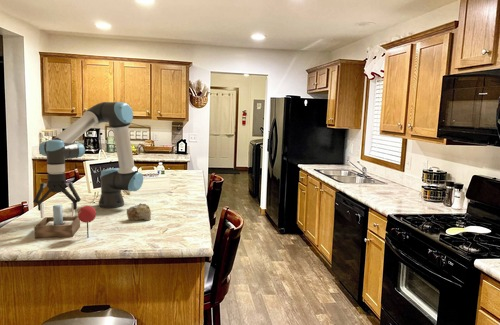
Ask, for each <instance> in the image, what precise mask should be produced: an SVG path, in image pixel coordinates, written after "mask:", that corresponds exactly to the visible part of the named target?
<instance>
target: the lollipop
mask: <svg viewBox="0 0 500 325" xmlns="http://www.w3.org/2000/svg"><path fill="white" fill-rule="evenodd" d="M77 216H78V218H79V220H80V222H82V223H85V224H86V231H87V232H86V235H87V236H86V237H87V239H88V238H90V236H89V223H91V222H93V221H94V220H95V219H96V216H97V211H96V208H94V207H93V206H91V205H83V206H82V207H80V208H79V210H78V212H77Z"/></svg>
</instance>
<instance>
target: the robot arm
mask: <svg viewBox="0 0 500 325" xmlns="http://www.w3.org/2000/svg"><path fill="white" fill-rule="evenodd" d="M133 118H134V112H133V108H132V107H131V106H130V105H129V104H128V103H126V102H121V101H118V102H117V101H109V102H108V101H107V102H106V101H102V102H99V103H97V104H95V105H92V106H91V107H90V108H88V109H86V111H84V112H83V113H82V116H81V117H79V118H78V119H76V120H75V121H73V123H72V124H70V125H69V126H68V127H66V128H65V129H64V130H63V131H62V132H60V133H59V134H57V135H56V136H54V137H53V138H52V139H50V140H47V141H42V142H41V143H40V144H39V146H38V152H39V153H40V155H42V156H43V157H46V172H47V183H45V182H41V183H40V184H39V189H38V191H37V193H36V195H35V197H34V199H33V201H32V202H33V203H34V204H37V211H40V218H41V219H44V218H45V203H43V201H44V200H45V199H47V197H48V196H49V195H50V194H51V193H62V194H64V195H65V197H67V198H68V199H69V200H70V201H71V217H74V216H75V215H76V210H77V209H78V205H77V203H80V201H81V199H82V198H80V196H79V194H78V192H77V191H76V189H75V188H74V187H75V186H74V183H73V182H66V173H65V172H66V160H67V159H69V160H70V159H78V158H81V157H83V156H84V155H85V152H86V149H85V146H84V144H83V143H81V142H75V141H77V139H79V138H80V137H81V136H83V134H85V133H86V132H87V131H89V130H90V129H91V128H92V127H95V126H98V125H99V124H102V123H108V126H109V128H110V129H112V133H113V138H114V144H115V149H116V154H117V161H118V166H119V167H115V168H106V169H103V170H101V171H100V192H101V193H100V197H99V200H98V207H99V208H102V209H115V208H116V209H117V208H120V207H121V208H122V207H123V206H125V200H124V197H123V195H122V191H125V192H137V191H139V190H140V189H141V188H142V186H143V183H144V175H143V173H141V172H140V171H139V170H138V167H137V166H135V162H134V160H135V159H134V154H133V149H132V143H131V137H130V131H129V127H130V126H131V122H132V121H133ZM46 187H47V188H48V190H47V191H46V192H45V193H44V194H43V192H44V189H46ZM66 187H67V188H69V190H70V192H71V193H72V194H71V193H70V192H69V191H68V189H67V188H66ZM42 194H43V196H41V195H42ZM40 197H41V198H40Z"/></svg>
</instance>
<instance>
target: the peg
mask: <svg viewBox="0 0 500 325" xmlns="http://www.w3.org/2000/svg"><path fill="white" fill-rule="evenodd" d="M52 213H53V214H52V215H53V216H52V217H53V220H54V225H63V217H64V214H63V205H62V204H55V205H52Z"/></svg>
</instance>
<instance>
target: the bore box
mask: <svg viewBox="0 0 500 325" xmlns="http://www.w3.org/2000/svg"><path fill="white" fill-rule="evenodd" d="M33 228H34V229H33V230H34V231H33V232H34V239H50V238H51V239H55V238H73V237H74V235H76V234H77V231H78V230H79V229H80V228H81V221H80V220H79V218H78V215H77V216H74V217H72V216H63V225H54V220H53V216H44V217H43V218H42V219H41V220H40V221H39V222H38V223H37V224H36V225H34V227H33Z"/></svg>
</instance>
